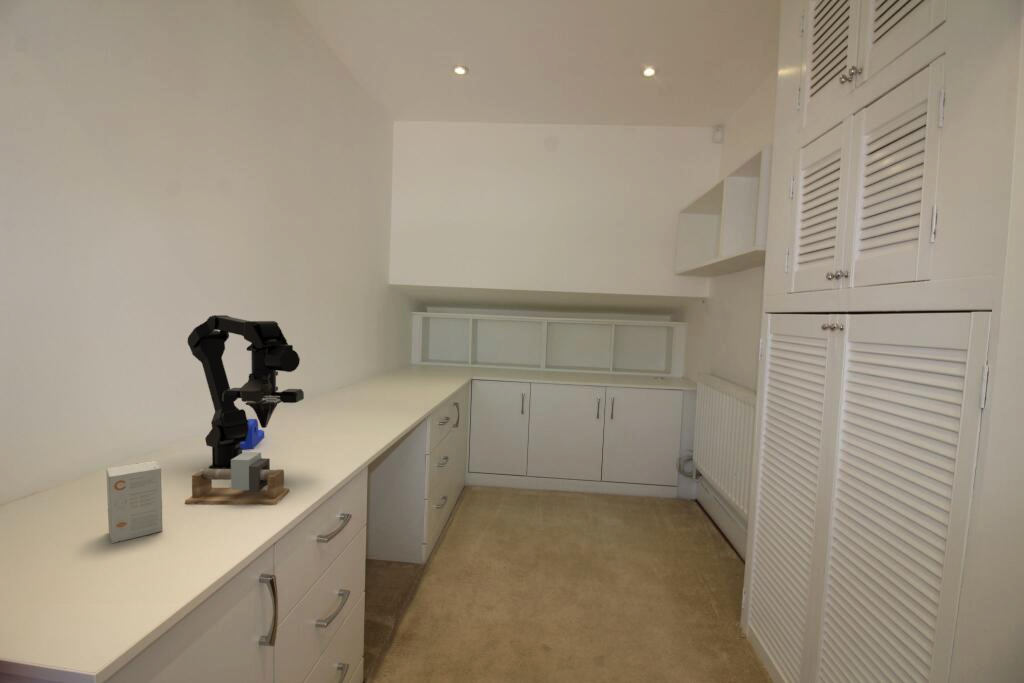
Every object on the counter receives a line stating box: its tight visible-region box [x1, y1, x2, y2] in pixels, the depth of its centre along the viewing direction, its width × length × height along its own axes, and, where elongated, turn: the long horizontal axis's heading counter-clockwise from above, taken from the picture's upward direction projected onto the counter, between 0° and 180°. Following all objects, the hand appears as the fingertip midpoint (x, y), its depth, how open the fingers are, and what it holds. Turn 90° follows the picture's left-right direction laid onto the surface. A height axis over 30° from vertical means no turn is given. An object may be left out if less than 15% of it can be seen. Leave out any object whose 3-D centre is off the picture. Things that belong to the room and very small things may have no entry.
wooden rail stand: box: [184, 467, 290, 506], centre depth 115 cm, size 20×8×7 cm, turn 92°
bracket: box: [241, 418, 265, 451], centre depth 160 cm, size 18×8×9 cm, turn 13°
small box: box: [106, 460, 163, 544], centre depth 96 cm, size 8×6×13 cm
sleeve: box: [230, 451, 262, 490], centre depth 115 cm, size 4×6×7 cm, turn 2°
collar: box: [249, 457, 271, 492], centre depth 115 cm, size 2×6×6 cm, turn 2°
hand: (264, 427), depth 129 cm, fingers closed
